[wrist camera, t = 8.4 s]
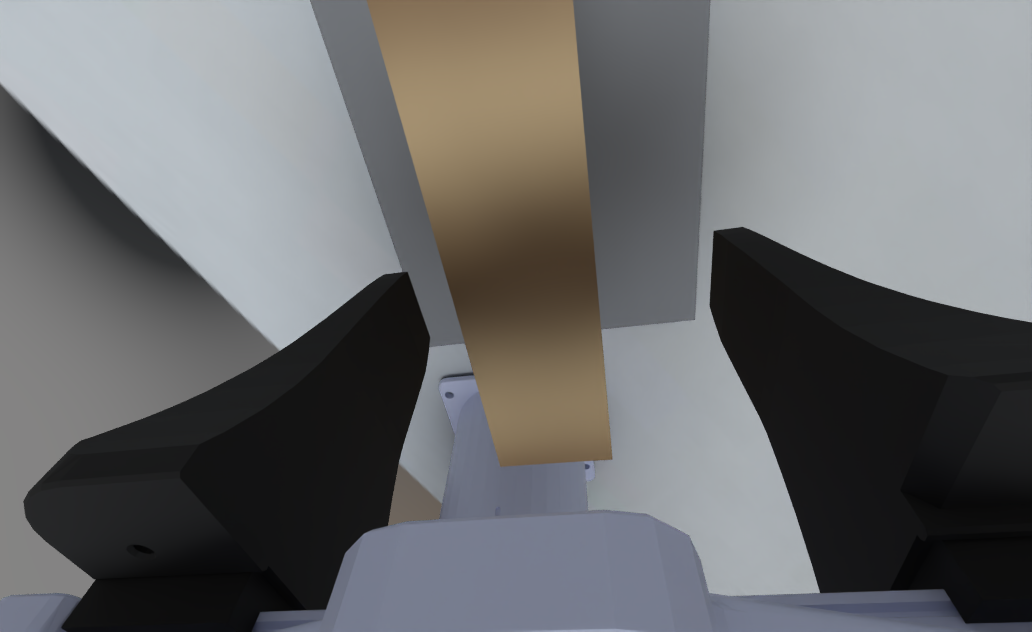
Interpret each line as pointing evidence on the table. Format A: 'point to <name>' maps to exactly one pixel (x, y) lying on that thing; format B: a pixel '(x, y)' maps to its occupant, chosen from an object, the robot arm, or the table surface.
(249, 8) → the table surface
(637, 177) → the peg stand
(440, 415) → the table surface
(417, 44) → the oak bar
